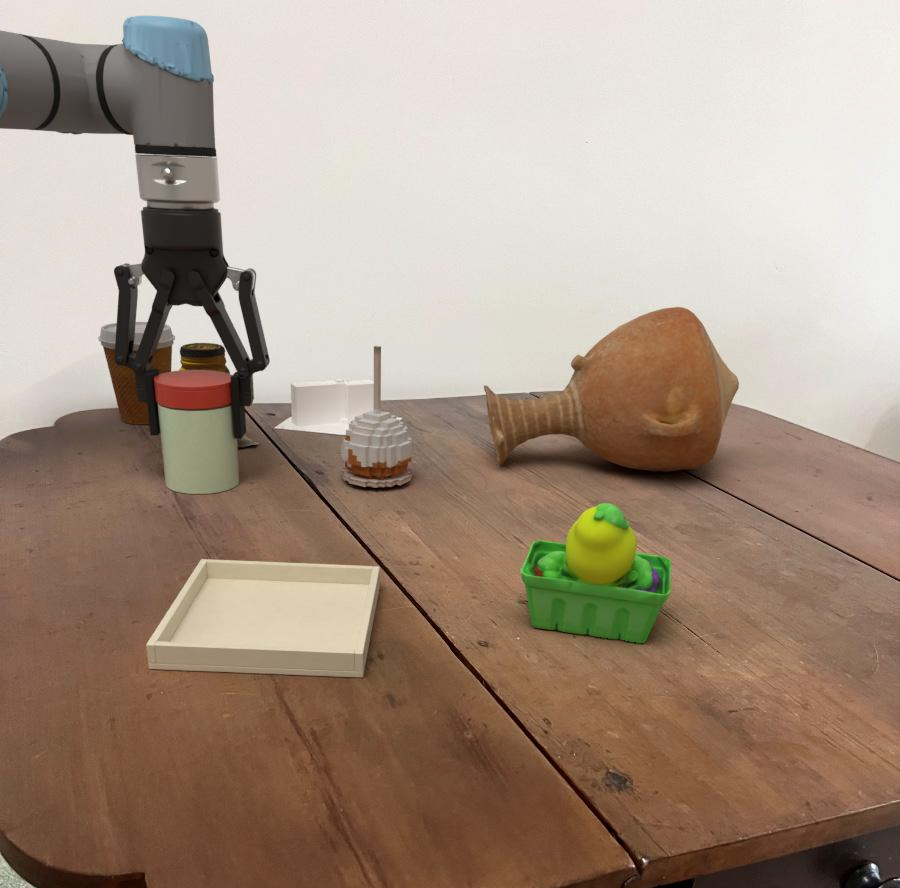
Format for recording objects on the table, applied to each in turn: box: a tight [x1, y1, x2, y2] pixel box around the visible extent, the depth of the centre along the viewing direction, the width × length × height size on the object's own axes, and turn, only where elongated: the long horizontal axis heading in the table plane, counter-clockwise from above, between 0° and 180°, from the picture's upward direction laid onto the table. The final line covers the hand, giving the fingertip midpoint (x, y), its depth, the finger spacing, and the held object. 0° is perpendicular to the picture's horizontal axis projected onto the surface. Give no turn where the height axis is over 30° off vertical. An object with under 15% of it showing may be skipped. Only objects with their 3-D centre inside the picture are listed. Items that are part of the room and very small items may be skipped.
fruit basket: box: [520, 502, 672, 644], centre depth 71 cm, size 11×9×11 cm
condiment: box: [178, 342, 260, 448], centre depth 112 cm, size 7×8×12 cm
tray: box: [145, 558, 381, 678], centre depth 71 cm, size 15×15×2 cm
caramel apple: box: [340, 345, 414, 489], centre depth 101 cm, size 8×8×15 cm
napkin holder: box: [273, 378, 403, 436], centre depth 125 cm, size 15×11×6 cm
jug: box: [483, 306, 740, 473], centre depth 109 cm, size 20×19×30 cm
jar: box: [157, 403, 241, 495], centre depth 99 cm, size 8×8×11 cm
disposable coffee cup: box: [97, 321, 176, 425], centre depth 121 cm, size 10×10×12 cm
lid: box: [154, 370, 233, 409], centre depth 97 cm, size 8×8×2 cm
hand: (199, 433), depth 99 cm, fingers closed on lid, 8 cm apart
